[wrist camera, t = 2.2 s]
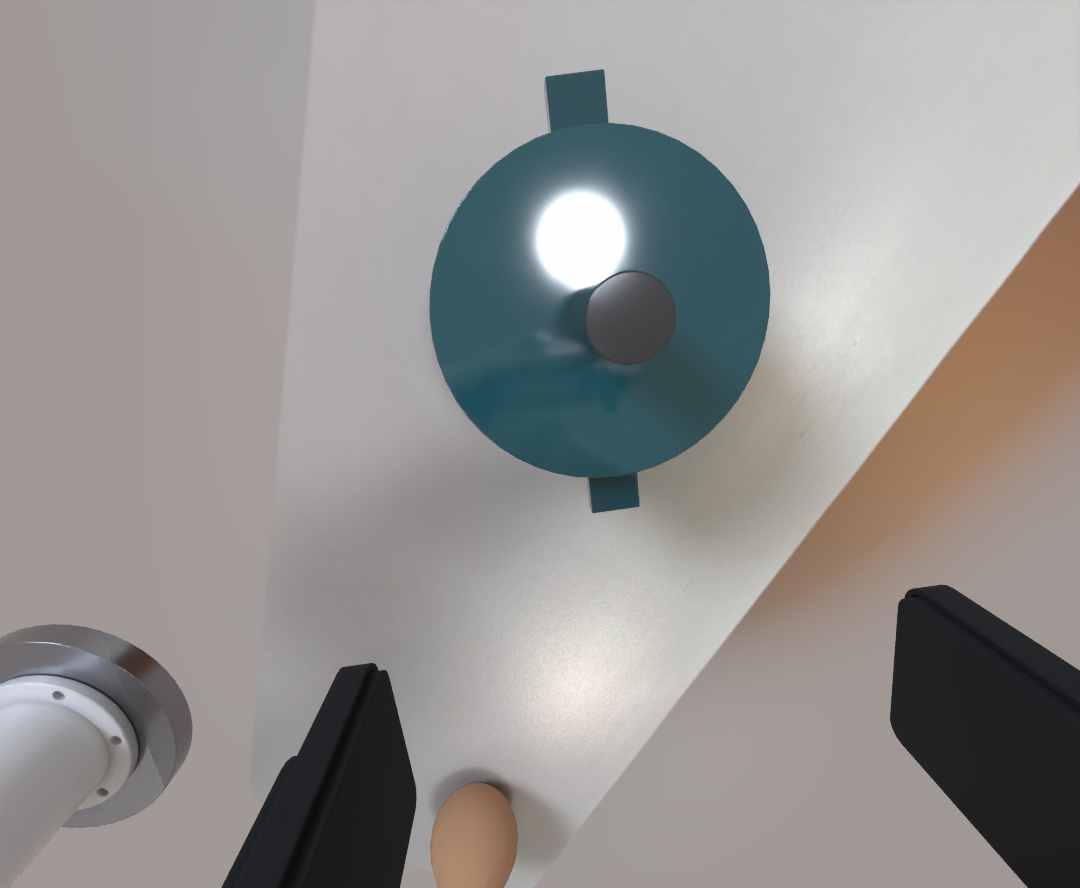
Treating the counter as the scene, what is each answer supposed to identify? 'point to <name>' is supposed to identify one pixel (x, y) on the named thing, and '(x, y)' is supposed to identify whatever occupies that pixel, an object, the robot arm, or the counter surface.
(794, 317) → the counter surface
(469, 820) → the egg
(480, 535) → the counter surface
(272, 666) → the counter surface
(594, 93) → the saucepan
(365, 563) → the counter surface
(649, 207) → the saucepan lid
